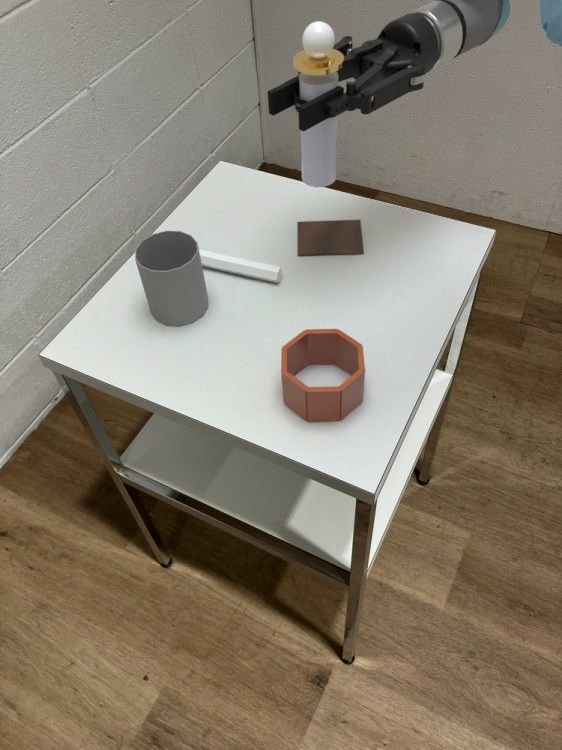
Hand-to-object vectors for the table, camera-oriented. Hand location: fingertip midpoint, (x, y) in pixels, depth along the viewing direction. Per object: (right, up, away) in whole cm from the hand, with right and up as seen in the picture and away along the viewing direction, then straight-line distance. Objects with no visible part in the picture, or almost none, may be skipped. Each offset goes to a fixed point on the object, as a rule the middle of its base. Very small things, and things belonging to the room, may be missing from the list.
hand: (285, 111), depth 73 cm
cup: (-15, -21, +18) cm, 31 cm away
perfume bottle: (+5, -5, +12) cm, 13 cm away
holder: (+5, -32, +7) cm, 33 cm away
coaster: (+7, -9, +26) cm, 28 cm away
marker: (-8, -15, +23) cm, 28 cm away
